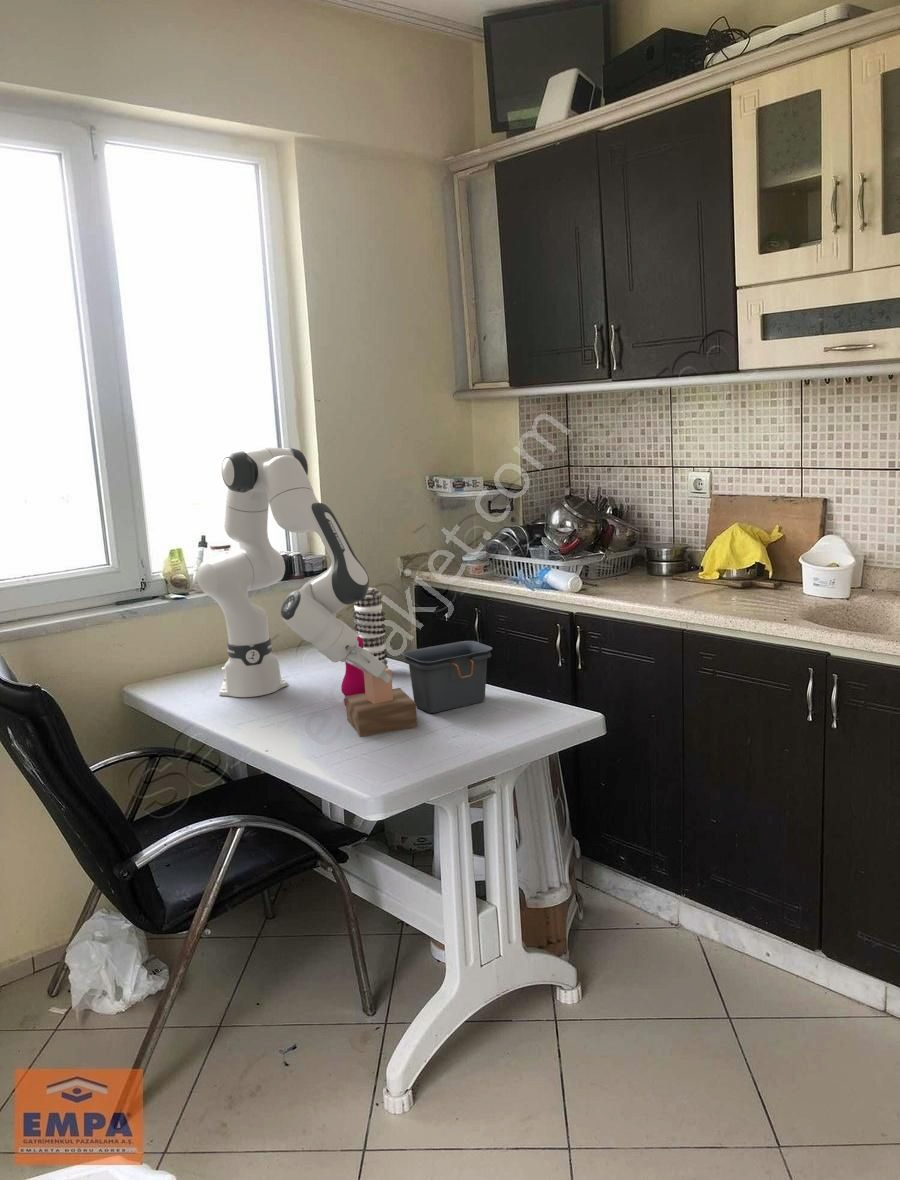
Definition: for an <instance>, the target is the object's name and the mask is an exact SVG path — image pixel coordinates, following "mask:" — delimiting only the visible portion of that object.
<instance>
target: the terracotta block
mask: <svg viewBox="0 0 900 1180" xmlns="http://www.w3.org/2000/svg"><path fill="white" fill-rule="evenodd" d="M385 671H386V673H387V674H388V675H390V676H391V680H390V681H389V682H388V683H386V682H384V681H383V680H382V679H380V678H375V677H373V676H372V675H370V674H368V673H366V672H364V682H365V694H366V699H367V700H368V701H370V702H372V703H373V704H377V703H381V702H386V701H391V700H393V689H394V688H393V680H392V679H393V678H392V669H390V668H389V667H388V668H386V670H385Z"/></svg>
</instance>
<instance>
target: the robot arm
mask: <svg viewBox="0 0 900 1180" xmlns="http://www.w3.org/2000/svg"><path fill="white" fill-rule="evenodd" d="M221 463H222V465H221V476H222V481H223V482H224V484H225V486H226V487H227V494H226V501H225V502H226V503H225V514H224V516H225V517H224V531H225V532H226V535H227V536H228V537H229V538H230V539H232V540H233V541H235V542H236V543H239V548H238V549H239V550H238V551H237V552H231V553H226V554H220V555H216V556H214V557H211V558H208V559H206V560H204V561H202V562H201V563H200V565H199V566H198V569H197V572H196V580H197V583H198V584H197V585H198V587H199V588H200V590H201V591H202V592H203V593H204V594H205V595H206V596H208V597H209V598H212V599H213V600H214V602H216V603H217V604H218V606H219V607H220V609H221V611H222V613H223V617H224V620H225V624H226V631H227V639H228V642H227V648H226V652H227V656H228V660H227V661H226V662H225V664H224V666H222V667H221V674H222V676H224V678H223V681H222V684H221V686H220V689H219V691H218V692H219V694H220V695H219V696H226V697H227V696H228V697H235V698H252V697H259V696H264V695H268V694H271V693H272V694H273V693H275V692H277V691H278V690H280V689H282V688H284V687H288V686H289V684H288V681H287V680H286V679H284V678H283V677H281V669H280V661H279V658H278V657H277V655H275V654H274V653H272V652H273V643H272V639H271V637H270V633H269V624H268V623H269V622H268V614H267V612H266V611H265V609H264V608H262V607H261V606H259V605H257V604H255V603H253V602H251V599H250V597H249V593H248V592H250V591H255V590H260V589H264V588H265V589H266V588H268V587H270V586H273V585H275V584H276V583H278V582H281V581H282V580H283V578H284V575H285V573H286V564H285V563H286V562H285V560H284V557H283V555H281V553H280V552H279V551H277V550H276V549H275V548H274V547H273V546H272V544H271V542H270V540H269V539H270V538H269V536H268V523H269V522H268V518H269V507H270V510H271V512H272V513H271V514H272V516H273V519H274V520H275V522H276V524H277V525H278V526H279V527H280V528H281V529H283V530H285V531H287V532H289V533H296V534H298V533H299V534H304V533H305V534H306V533H314V532H315V533H316V534H317V535H318V536H319V538H320V540H321V543H322V544H323V546H324V548H325V550H326V552H327V554H328V556H329V558H330V560H331V561H330V562H331V563H330V566H329V568H328V569H326V570H324V571H323V572H321V573H320V574H318V575H317V576H314V577H313V578H311V579H309V580H308V581H307V582H305V583H304V584H303V585H302V586H301V587H300V588H299V589H298V590H293V591H291V592H290V593H289V594H288V595H287V596H286V597H285V599H284V600H283V602H282V604H281V608H280V616H281V619H282V620H283V622H284V623H285V624H286V625H287V627H288V628H289V629H290V630H291V631H293V632H294V633H295V634H296V635H297V636H298V637H300V638H301V639H302V640H304V641H306V642H308V643H311V644H312V645H313V646H314V648H315V649H316V650H317V651H318V652H319V653H320V654H322V655H323V656H324V657H326V658H327V659H328V660H329V661H330V662H332V663H338V662H341V663H343V662H344V663H345V662H347V663H349V664H351V665H353V666H355V667H357V668H358V669H360V670H362V671H364V672H366V673H368V674H370V675H372V676H373V677H375V678H380V679H382V680H383V681H384V682H386V683H388V682H389V681H390V680H391V676H390V675H388V674H387V673H386V671H385V670H386V668H387V667H386V665H385V664H384V663H382V662H381V661H380V660H379V659H377V658H376V657H375V656H373V655H372V654H371V653H369V652H368V651H366V650H365V649H363V648H361V647H359V646H358V645H359V642H358V640H357V633H356V632H357V631H355V629H354V628H351V627H350V626H349V625H348V624H347V623H346V622H344V621H343V620H342V619H339V618H337V613H338V612H340V611H341V610H342V609H345V608H346V607H348V606H349V605H352V604H355V602H357V601H359V600H362V599H363V598H364V597H365V596H366V594H367V592H368V588H369V586H370V578H369V575H368V572H367V571H366V568H365V567H364V566H363V564H362V563H361V561H360V560H359V559H358V558H357V556H356V554H355V552H354V550H353V548H352V546H351V544H350V543H349V540H348V538H347V536H346V535H345V533H344V531H343V528H342V527H341V524H340V523H339V521H338V519H337V517H336V516H335V514H334V512H333V511H332V509H331V508H330V507H329V506H328V505H327V504H325V503H323V502H320V501H319V500H318V498H317V497H316V494H315V492H314V490H313V487H312V485H311V484H312V483H311V481H310V479H309V477H308V474H309V466H308V461H307V459H306V456H305V455H304V453H303V452H302V451H301V450H299V449H296V448H292V447H285V448H282V447H262V448H261V447H260V448H252V449H246V450H243V449H237V450H234V451H233V450H232V451H231V452H228V453H227V454H226V455H225V457H224V458H223V460H222V462H221Z"/></svg>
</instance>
